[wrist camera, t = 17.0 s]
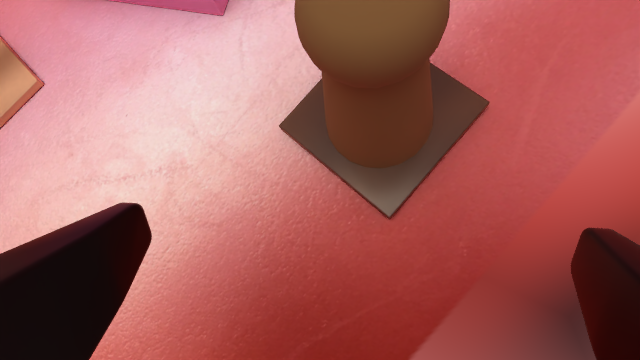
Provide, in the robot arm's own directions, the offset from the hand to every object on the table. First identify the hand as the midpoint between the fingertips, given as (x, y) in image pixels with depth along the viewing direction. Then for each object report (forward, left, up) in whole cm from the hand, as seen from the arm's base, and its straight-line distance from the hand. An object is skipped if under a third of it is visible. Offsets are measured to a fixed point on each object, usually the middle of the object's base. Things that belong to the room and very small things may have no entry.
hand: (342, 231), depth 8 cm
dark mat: (+7, -5, -14) cm, 16 cm away
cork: (+6, -5, -13) cm, 15 cm away
